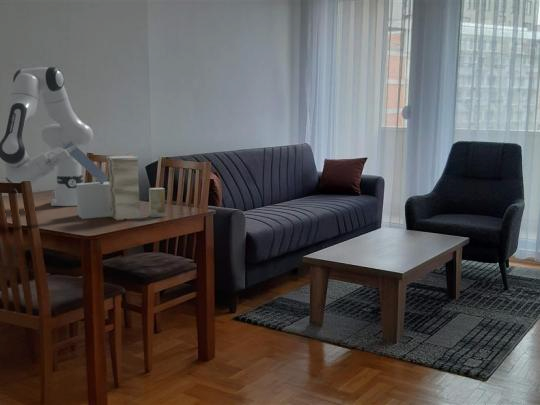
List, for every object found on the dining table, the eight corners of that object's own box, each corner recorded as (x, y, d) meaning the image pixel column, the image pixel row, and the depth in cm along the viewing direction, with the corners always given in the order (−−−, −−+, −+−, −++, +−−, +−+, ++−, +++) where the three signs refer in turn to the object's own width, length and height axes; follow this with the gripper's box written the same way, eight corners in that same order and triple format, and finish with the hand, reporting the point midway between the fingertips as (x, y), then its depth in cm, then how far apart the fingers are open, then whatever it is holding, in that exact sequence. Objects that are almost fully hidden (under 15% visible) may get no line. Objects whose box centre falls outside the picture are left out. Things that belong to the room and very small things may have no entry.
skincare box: (151, 217, 266) (150, 189, 264) (149, 216, 270) (148, 188, 268) (166, 216, 268) (165, 188, 266) (163, 214, 272) (162, 187, 270)
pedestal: (109, 216, 269) (106, 156, 265) (134, 214, 274) (132, 155, 270) (115, 220, 259) (112, 158, 255) (141, 218, 264) (139, 157, 260)
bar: (62, 147, 263) (69, 140, 264) (100, 183, 272) (106, 176, 273) (63, 148, 260) (71, 141, 260) (102, 184, 269) (108, 177, 270)
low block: (77, 215, 273) (75, 183, 271) (109, 212, 279) (108, 181, 277) (82, 218, 264) (80, 186, 262) (115, 215, 270) (113, 184, 268)
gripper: (44, 158, 249) (74, 140, 253) (37, 155, 267) (65, 138, 271) (53, 171, 251) (82, 153, 255) (46, 167, 269) (73, 150, 273)
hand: (73, 145), depth 263 cm, fingers closed on bar, 4 cm apart
